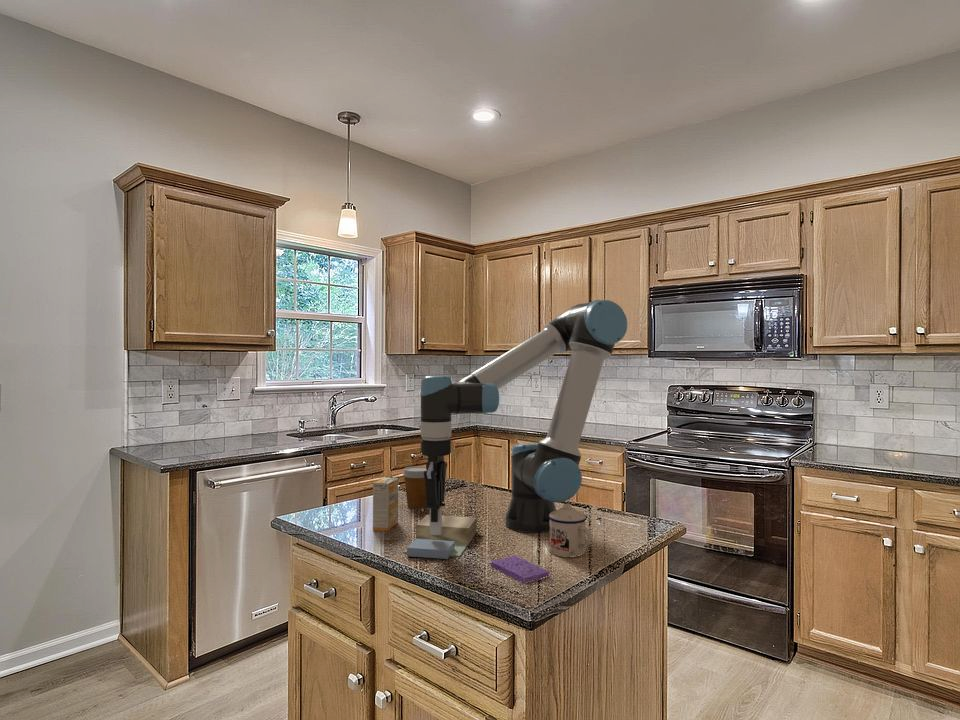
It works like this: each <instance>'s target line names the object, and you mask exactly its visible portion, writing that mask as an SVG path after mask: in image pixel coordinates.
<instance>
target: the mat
mask: <svg viewBox="0 0 960 720" xmlns="http://www.w3.org/2000/svg"><path fill="white" fill-rule="evenodd" d="M469 544H470V543H462V542H455V550H454V551H453V553H452V554H451V555H450V557H456V558H457V557H458V558H459V557H461V556H462V554H463V553H464V552H465V550H466V549H467V547H468V546H469ZM403 554H407V548H406V549H405V550H404V551H403Z"/></svg>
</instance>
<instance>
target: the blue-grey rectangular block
mask: <svg viewBox="0 0 960 720" xmlns="http://www.w3.org/2000/svg"><path fill="white" fill-rule="evenodd" d="M406 549H407V553H406V556H407V557H415V558H418V557H419V558H426V559H427V558H428V559H429V558H430V559H442V560H448V559H449V558H450V557H451V556H450V555H451V554H452V553H453V551H454V550H455V541H444V540H430V539H416V538H415V539H414V540H413V541H412V542H411V543H409V544H408V546H407V547H406Z"/></svg>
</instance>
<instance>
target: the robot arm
mask: <svg viewBox="0 0 960 720" xmlns="http://www.w3.org/2000/svg"><path fill="white" fill-rule="evenodd" d="M627 330H628V318H627V315H626V314H625V312H624V310H623V308H622V307H621V306H620V304H618V303H616V302H615V301H612V300H609V299H596V300H592V301H590V302H583V303H579V304H576V305H573V306H571V307H570V308H568V309H567V310H565V311H564V312H563V313H561V314H560V315H558V316H557V317H555V318H554V319H552V320H551V321H549V322H548V323H546V324H545V325H544V328H543V330H541V331H539V332H538V333H535V335H533V336H531V337H530V338H528V339H526V340H525V341H523V342H520V344H518V345H516V346H515V347H513V348H511V349H510V350H508V351H507V352H505V353H503V354H501V355H499V356H498V357H496V358H495V359H494V360H491V361H490V362H488V363H487V364H485V365H484V366H482V367H480V368H478V369H477V370H475V371H474V372H472V373H471V374H469V375H467V376H465V377H464V378H462V379H459V380H455V381H452V378H451V376H449V375H426V376H424V377H422V379H421V383H420V385H421V386H420V424H419V425H418V428H419V429H420V437H421V438H422V439H421V440H420V454H421V455H422V456H427V462H426V464H425V467H426V470H427V471H424V477H425V486H426V500H427V506H426V507H425V509H429V515H430V535H441V534H442V516H443V507H446V503H444V502H445V495H446V493H445V492H446V480H447V479H446V476H447V467H448V463H447V462H446V461H445V456H448V455H451V453H452V439H450V438H451V437H452V415H453V414H454V415H458V414H484V415H485V414H492V413H495V412H497V410H498V408H499V405H500V394H499V389H500V388H502V387H504V386H505V385H507V384H508V383H511V382H512V381H513V380H515V379H517V378H519V377H520V376H522V375H523V374H525V373H527V372H528V371H530V370H531V369H533V368H534V367H537V366H538V365H540V364H541V363H543V362H544V361H546V360H548V359H549V358H551V357H552V356H554V355H555V354H557V353H558V354H564V353H565V352H568V351H570V350H571V355H570V357H569V361H568V365H567V368H566V371H565V375H564V378H563V381H562V384H561V387H560V390H559V394H558V397H557V399H556V404H555V408H554V411H553V414H552V417H551V421H550V424H549V428H548V430H547V434H546V436H545V438H543V439H541V440H539V441H538V442H537V443H520V444H514V446H513V447H511V448H512V449H511V457H510V459H511V498H510V501H509V505H508V508H507V510H506V515H505V525H506V526H505V527H506V528H509V529H512V530H514V531H519V532H524V533H525V532H526V533H546V532H550V519H549V514H550V513H551V512H553V511H556V510H557V506H556V504H555V503H564V502H566V501H568V500H571V499H572V498H574V496H576V495H577V493H578V491H579V490H580V488H581V486H582V483H583V475H582V471H581V469H580V462H581V459H582V454H581V452H580V449H579V444H580V441H581V438H582V434H583V430H584V427H585V424H586V421H587V418H588V414H589V411H590V407H591V405H592V402H593V401H592V400H593V397H594V394H595V391H596V387H597V385H598V380H599V377H600V375H601V371H602V367H603V364H604V362H605V360H607V359H608V358H611V357H612V354H613V351H614V348H615V346H616V344H617V343H619V342H621V340H622V339H624V337H625V335H626V333H627Z"/></svg>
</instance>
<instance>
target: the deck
mask: <svg viewBox="0 0 960 720" xmlns="http://www.w3.org/2000/svg"><path fill="white" fill-rule="evenodd" d="M477 519H478V518H477V517H475V516H473V517H471V516H455V515H442V534H441V535H430V514H426V515H425V516H424V517H423V518H422V519H421V520H420V521H419V522H417V524H415V539H430V540H444V541H455V542H462V543H469V544H470V543H471V541H472V540H473V538H474V537H475V536H476V534H477V533H478V532H477V531H478V529H477V527H478V525H477V523H478V521H477Z"/></svg>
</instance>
